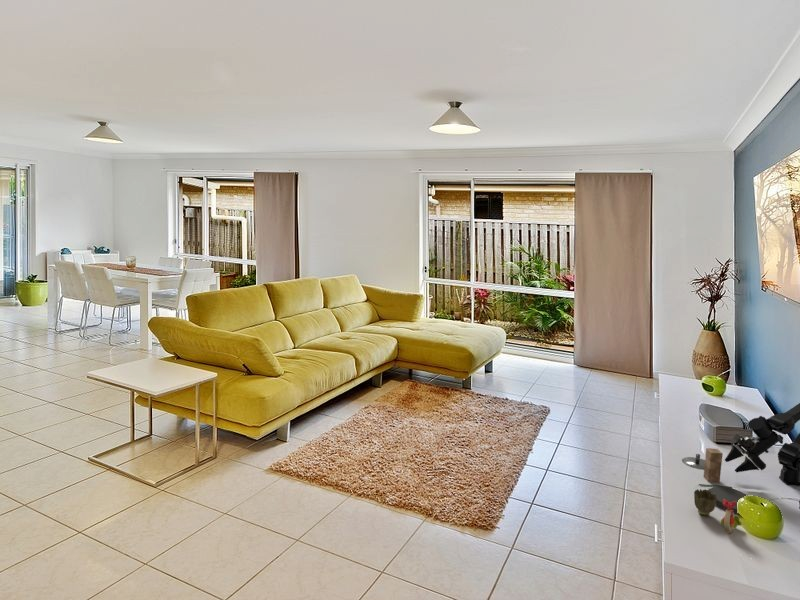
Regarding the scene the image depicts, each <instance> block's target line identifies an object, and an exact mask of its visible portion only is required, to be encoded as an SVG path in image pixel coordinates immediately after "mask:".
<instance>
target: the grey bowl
mask: <svg viewBox="0 0 800 600" xmlns="http://www.w3.org/2000/svg"><path fill="white" fill-rule="evenodd" d="M681 461H682V463H683V464H684V465H686V466H688V467H689V468H693V469H697V470H703V471H704V467H705V459H703V458H701V454H700V453H695V457H694V456H692V457H691V456H686V457H683V458H681Z"/></svg>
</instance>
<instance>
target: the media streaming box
mask: <svg viewBox="0 0 800 600" xmlns="http://www.w3.org/2000/svg"><path fill="white" fill-rule="evenodd" d="M719 486H720V487H714V488H713V487H710V488H708V489H706V490H707V491H708V492H709V491H711V494H713V495H714V494H716V496H718V498H717V502H716V507H718V506H719V508H720V509H723V510H725V511H726V509H727V508H726V507H725V506H724V505H723V502H724V500H723V499H725V500H727V501H728V502H729V503H731V502H734V501H737V502H738V500H739V499H740V498H742V497H744V496H746V495H748V494H747V493H745V492H744V491H743V492H742V491H740V490H738V489H736V488H733V487H732V488H728V487H729V486H728V487H721V486H722V485H719ZM737 502H736V505H735V506H734V507H733V508H732V510H733V512H734V514H735V513H737Z"/></svg>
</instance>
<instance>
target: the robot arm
mask: <svg viewBox="0 0 800 600" xmlns="http://www.w3.org/2000/svg"><path fill="white" fill-rule="evenodd" d="M799 421H800V402H799V403H798V404H796V405H794V406H793V407H791V408H790V409H788V410H787V411H785V412H781V413H776V414H774V415H772V416H770V417H768V418H766V417H765V416H762V415H759V416H758V417H754V418H752V419H750V420H749V422H748V425H747V426H748V428H749V429H750V430H751V431H752V432H753V433H754V434H755V435H756V437H754V436H750V437H749V436H745V435H743V434H742V433H739V432H736V434H735V435H734V436H733V438H732V439H731V440H730V445H731V449H730V451H729V452H728V454H727V455H726V456H725V458H724V462H725V463H729V462H731V461H734V460H736V459H739V458H741V457H743V456H745V457H744V461H743V462H741V464H739V465H738V466H737V467H736V468H735V469H734V472H736V473H742V472H748V471H756V470H757V471H759V470H760V471H764V470H765V469H766V468H767V464H766V463H765V462H764V461H763V460H762V459H761V457H760V456H761V455H762V454H764V453H766V454H768V453H769V449H770V448H772V447H773V446H775V445H776V444H777V443H780V444H781V445H782V447H780V448H779V449H778V452H777V458H778V464H779V465H781V466H782V468H781V469H780V475H778V478H779V479H780V480H781V481H782V482H783V483H784V484H786V485H789V486H800V432H799V433H798V434H797V436H796V437H795V438H794V440H793V441H792V442H790V443H787V442H785V443H784V437H783V435H785V436H786V435H788V434H790V432H792V431H793V430H794V429H795V426H796V424H797V423H798V422H799ZM781 434H782V435H781Z"/></svg>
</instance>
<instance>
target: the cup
mask: <svg viewBox="0 0 800 600" xmlns="http://www.w3.org/2000/svg"><path fill="white" fill-rule="evenodd" d="M707 490H708V489H701V488H700V489H695V490H694V492H693V497H694V498H693V499H694V505H695V508H696V509H697V512H698V514H699V515H701V516H703V517H708V516H710V513H712V512H713V511H714V510H715V508H716V507H717V505H716V502H717V498H718V496H716V494H714V495H713V494H711V491H709V492H708V491H707Z"/></svg>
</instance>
